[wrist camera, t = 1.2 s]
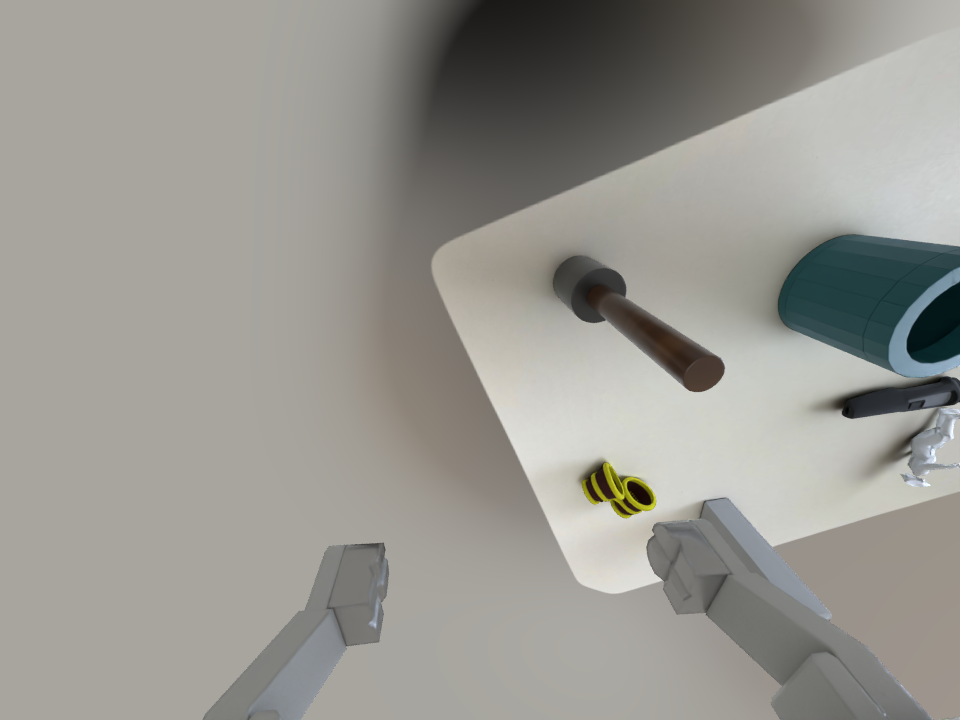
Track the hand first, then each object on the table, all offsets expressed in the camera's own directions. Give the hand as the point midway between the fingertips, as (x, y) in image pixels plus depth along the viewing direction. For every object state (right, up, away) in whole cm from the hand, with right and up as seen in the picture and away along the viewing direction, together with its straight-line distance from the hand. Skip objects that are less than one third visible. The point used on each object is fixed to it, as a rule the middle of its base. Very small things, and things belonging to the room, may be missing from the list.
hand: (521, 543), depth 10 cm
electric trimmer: (+55, +1, +36) cm, 66 cm away
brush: (+9, +14, +25) cm, 30 cm away
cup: (+38, +14, +28) cm, 49 cm away
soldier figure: (+64, -6, +41) cm, 76 cm away
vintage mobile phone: (+36, -19, +45) cm, 60 cm away
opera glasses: (+18, -12, +40) cm, 45 cm away
